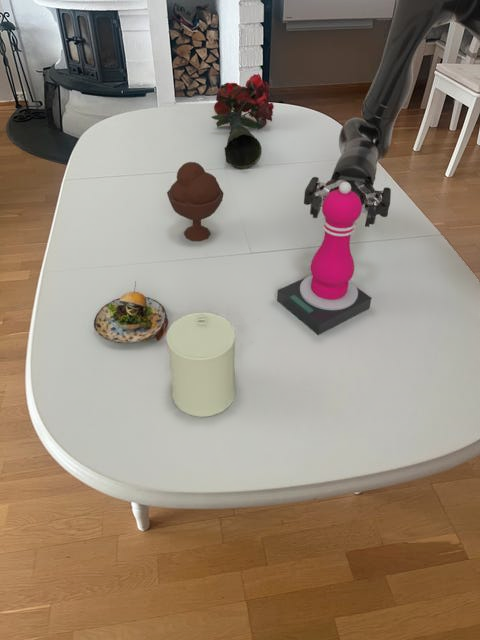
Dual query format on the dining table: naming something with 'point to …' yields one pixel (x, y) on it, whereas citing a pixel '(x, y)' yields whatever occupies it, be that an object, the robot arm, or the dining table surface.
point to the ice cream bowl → (195, 198)
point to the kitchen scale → (322, 305)
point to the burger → (131, 319)
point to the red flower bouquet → (243, 119)
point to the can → (202, 363)
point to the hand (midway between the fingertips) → (341, 217)
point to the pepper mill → (336, 244)
